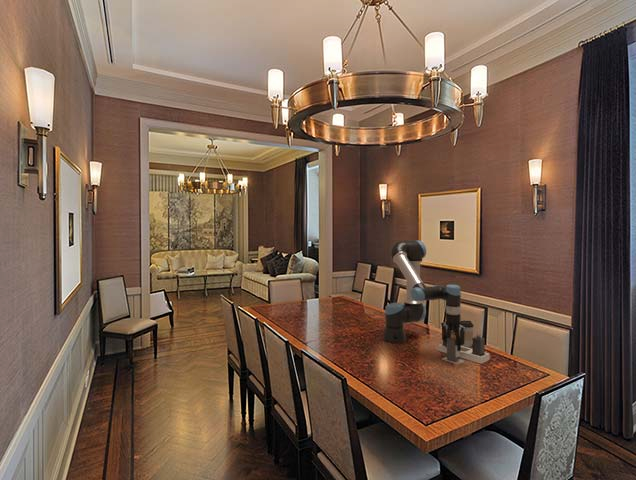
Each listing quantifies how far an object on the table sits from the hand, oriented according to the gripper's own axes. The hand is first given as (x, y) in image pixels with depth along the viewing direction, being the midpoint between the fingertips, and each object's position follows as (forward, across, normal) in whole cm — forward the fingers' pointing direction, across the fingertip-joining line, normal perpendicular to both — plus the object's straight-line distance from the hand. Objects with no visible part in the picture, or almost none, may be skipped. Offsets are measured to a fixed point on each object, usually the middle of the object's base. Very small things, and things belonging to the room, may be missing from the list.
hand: (452, 355), depth 193 cm
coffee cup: (+3, -8, +28) cm, 30 cm away
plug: (+3, 0, 0) cm, 3 cm away
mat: (+3, 0, 0) cm, 3 cm away
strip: (+3, 0, +10) cm, 11 cm away
